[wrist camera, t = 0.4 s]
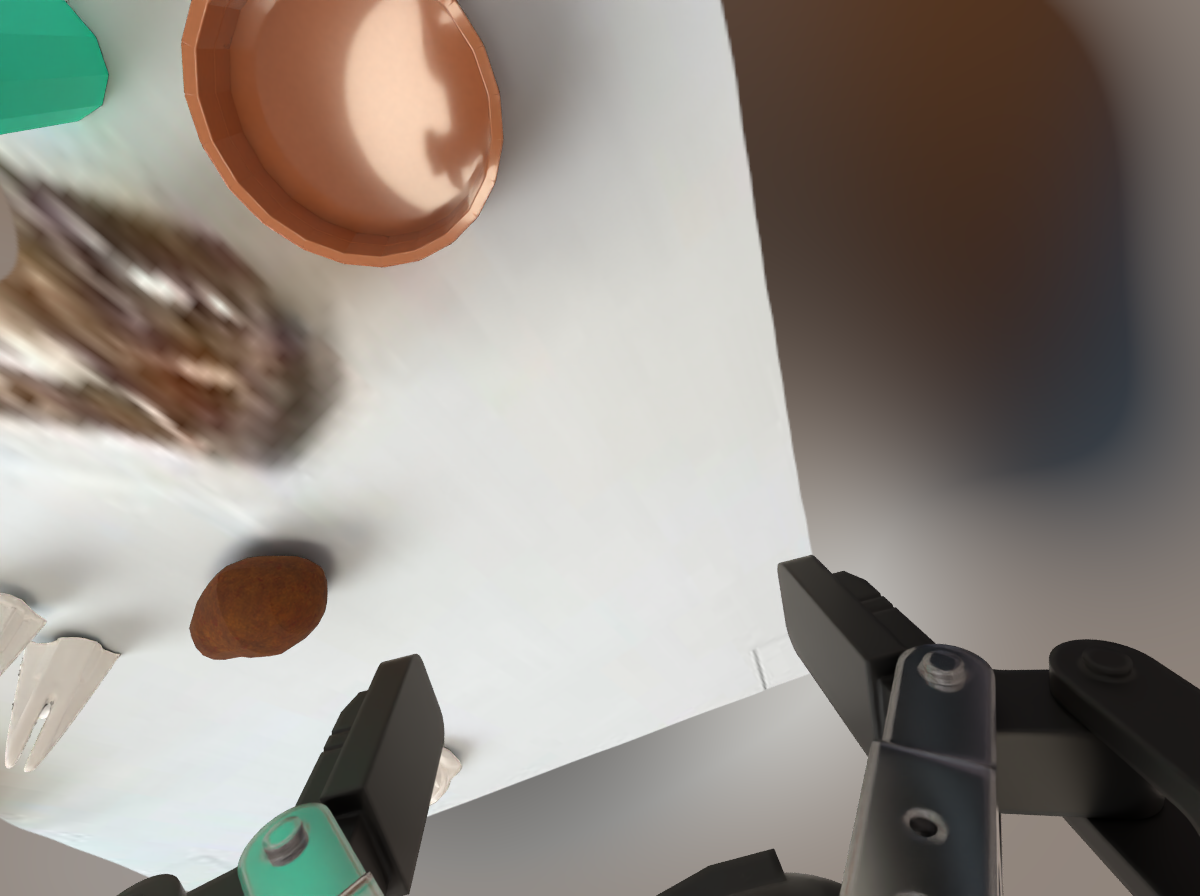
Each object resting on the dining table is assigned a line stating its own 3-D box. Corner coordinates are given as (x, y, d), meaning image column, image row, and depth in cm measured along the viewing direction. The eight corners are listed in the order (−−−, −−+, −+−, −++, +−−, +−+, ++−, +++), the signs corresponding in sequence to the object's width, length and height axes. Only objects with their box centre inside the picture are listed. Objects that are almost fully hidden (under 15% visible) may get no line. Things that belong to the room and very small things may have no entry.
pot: (188, 157, 32) (147, 172, 28) (272, -142, 26) (236, -178, 22) (434, 284, 38) (429, 312, 34) (544, 63, 32) (554, 65, 28)
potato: (180, 575, 47) (137, 652, 41) (284, 511, 46) (256, 582, 39) (264, 627, 52) (237, 704, 46) (361, 571, 50) (346, 643, 44)
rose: (411, 834, 68) (347, 810, 63) (414, 795, 72) (353, 768, 66) (479, 798, 66) (419, 769, 61) (478, 759, 70) (422, 729, 64)
